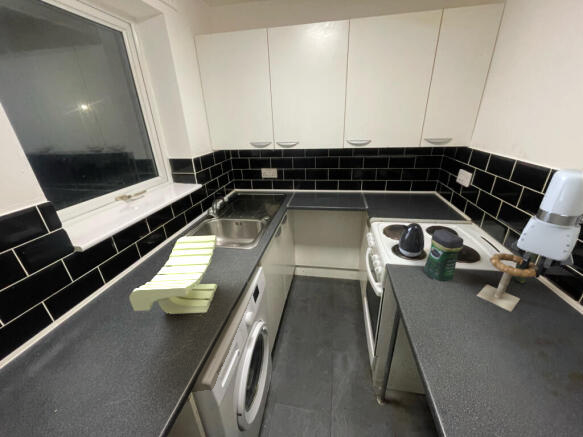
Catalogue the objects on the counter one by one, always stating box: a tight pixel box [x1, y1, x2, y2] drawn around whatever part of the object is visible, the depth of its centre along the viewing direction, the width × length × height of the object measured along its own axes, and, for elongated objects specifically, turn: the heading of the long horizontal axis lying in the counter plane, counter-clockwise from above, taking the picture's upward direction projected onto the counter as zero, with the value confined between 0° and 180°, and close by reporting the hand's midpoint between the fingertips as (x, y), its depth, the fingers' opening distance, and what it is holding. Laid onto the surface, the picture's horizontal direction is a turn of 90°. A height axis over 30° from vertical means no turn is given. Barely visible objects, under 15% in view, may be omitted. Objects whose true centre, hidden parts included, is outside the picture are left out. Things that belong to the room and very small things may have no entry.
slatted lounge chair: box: [129, 234, 218, 315], centre depth 80 cm, size 30×16×18 cm, turn 1°
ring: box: [489, 252, 539, 278], centre depth 71 cm, size 11×11×2 cm
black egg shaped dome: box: [397, 222, 425, 258], centre depth 101 cm, size 10×10×15 cm
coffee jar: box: [423, 228, 464, 282], centre depth 86 cm, size 10×8×19 cm
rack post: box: [476, 265, 521, 313], centre depth 74 cm, size 9×9×13 cm
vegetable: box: [513, 253, 539, 284], centre depth 81 cm, size 4×4×20 cm
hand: (530, 272), depth 68 cm, fingers closed on ring, 2 cm apart
